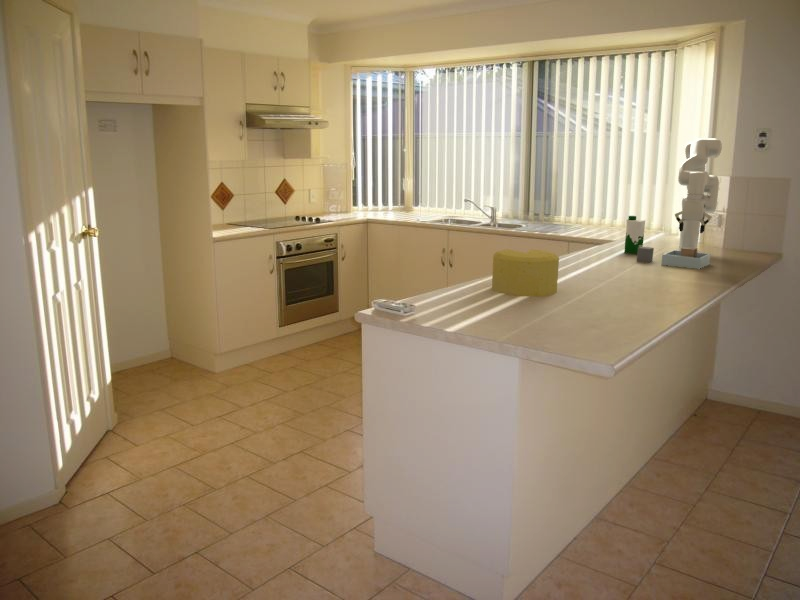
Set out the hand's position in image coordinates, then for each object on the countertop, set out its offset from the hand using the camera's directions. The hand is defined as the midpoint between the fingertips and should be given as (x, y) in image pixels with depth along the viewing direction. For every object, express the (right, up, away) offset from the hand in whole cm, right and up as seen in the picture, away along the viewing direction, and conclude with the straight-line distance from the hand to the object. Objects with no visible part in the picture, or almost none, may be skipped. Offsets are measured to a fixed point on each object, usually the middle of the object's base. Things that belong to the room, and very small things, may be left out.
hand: (691, 232), depth 341 cm
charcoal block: (-20, -14, +9) cm, 26 cm away
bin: (-3, -16, 0) cm, 16 cm away
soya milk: (-17, -8, +35) cm, 40 cm away
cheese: (-94, -30, -62) cm, 117 cm away
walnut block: (0, -15, +3) cm, 15 cm away
